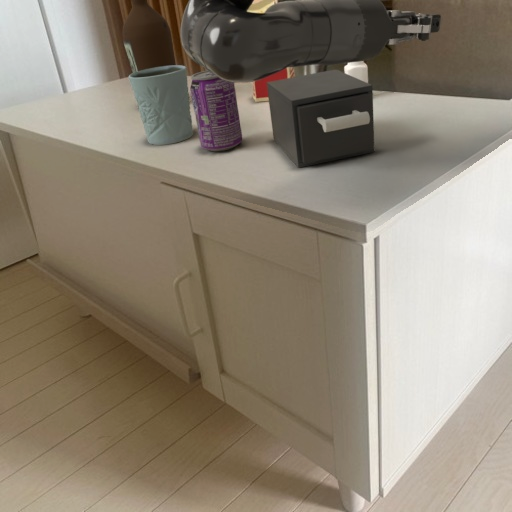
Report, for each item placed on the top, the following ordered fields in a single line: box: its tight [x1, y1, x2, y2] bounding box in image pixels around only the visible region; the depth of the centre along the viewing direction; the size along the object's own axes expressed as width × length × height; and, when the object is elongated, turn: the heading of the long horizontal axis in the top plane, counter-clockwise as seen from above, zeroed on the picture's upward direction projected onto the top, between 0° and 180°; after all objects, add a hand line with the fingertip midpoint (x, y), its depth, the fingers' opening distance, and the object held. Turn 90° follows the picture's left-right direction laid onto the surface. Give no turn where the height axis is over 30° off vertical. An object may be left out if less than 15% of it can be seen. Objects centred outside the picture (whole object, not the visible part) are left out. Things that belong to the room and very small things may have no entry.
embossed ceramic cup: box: [128, 64, 194, 146], centre depth 98 cm, size 10×10×12 cm
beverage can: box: [189, 70, 243, 152], centre depth 88 cm, size 7×7×12 cm
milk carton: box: [247, 0, 296, 103], centre depth 113 cm, size 9×9×20 cm
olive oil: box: [121, 0, 177, 74], centre depth 120 cm, size 11×11×25 cm
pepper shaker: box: [343, 61, 369, 84], centre depth 105 cm, size 4×4×10 cm
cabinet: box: [267, 69, 375, 169], centre depth 82 cm, size 15×12×10 cm
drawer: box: [297, 93, 375, 163], centre depth 78 cm, size 18×10×8 cm, turn 12°
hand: (435, 22), depth 74 cm, fingers closed
